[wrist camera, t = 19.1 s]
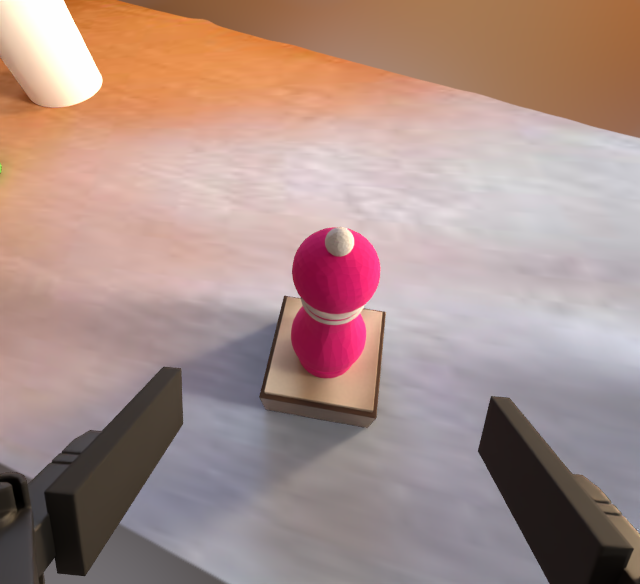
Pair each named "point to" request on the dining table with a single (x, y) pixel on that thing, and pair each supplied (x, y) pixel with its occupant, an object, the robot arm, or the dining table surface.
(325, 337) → the pepper mill
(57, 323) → the dining table surface
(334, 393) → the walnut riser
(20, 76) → the canister
